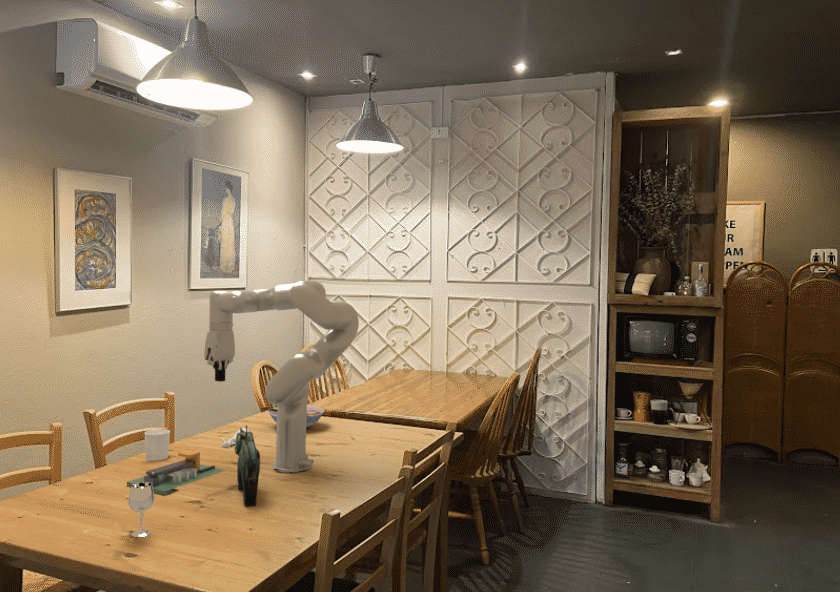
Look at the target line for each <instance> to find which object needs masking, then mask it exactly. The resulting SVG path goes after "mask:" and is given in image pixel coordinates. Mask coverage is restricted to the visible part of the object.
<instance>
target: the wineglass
mask: <svg viewBox="0 0 840 592" xmlns="http://www.w3.org/2000/svg"><path fill="white" fill-rule="evenodd" d="M127 500H128V506H129V508H130V509H131V510H132V511H134V512H138V513H139V514H138V517H139V529H138V530H136V531H133V532H132V533H131V534H130V536H131V535H132V536H134V537H133V538H135V537H141V538H145V536H146V537H148V536H150V535H151V534H152V532H151V530H147V529H144V528H143V518H144V512H146V511H147V510H149V509H151V508H152V506H154V502H155V493H154V490H153V486H152V483H150V482H139V483H135V484H133V485H131V487H130V489H129V493H128V499H127ZM132 536H131V537H132Z"/></svg>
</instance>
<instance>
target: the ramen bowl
mask: <svg viewBox="0 0 840 592" xmlns="http://www.w3.org/2000/svg"><path fill="white" fill-rule="evenodd" d="M260 410H263V411H268V413H269V415H270V417H271V418H272V420H273V421H274V422H275V423H276V424H277V411H278V406H277V407H273V408H272V407H267V406H264V407H261V408H260ZM324 413H325V409H324V408H322V407H318V406H314V405H307V413H306V428H308V427H311V426H313V425H315V424H317V422H318V421H319V420H320V419H321V417H322V416H323V415H324Z"/></svg>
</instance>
